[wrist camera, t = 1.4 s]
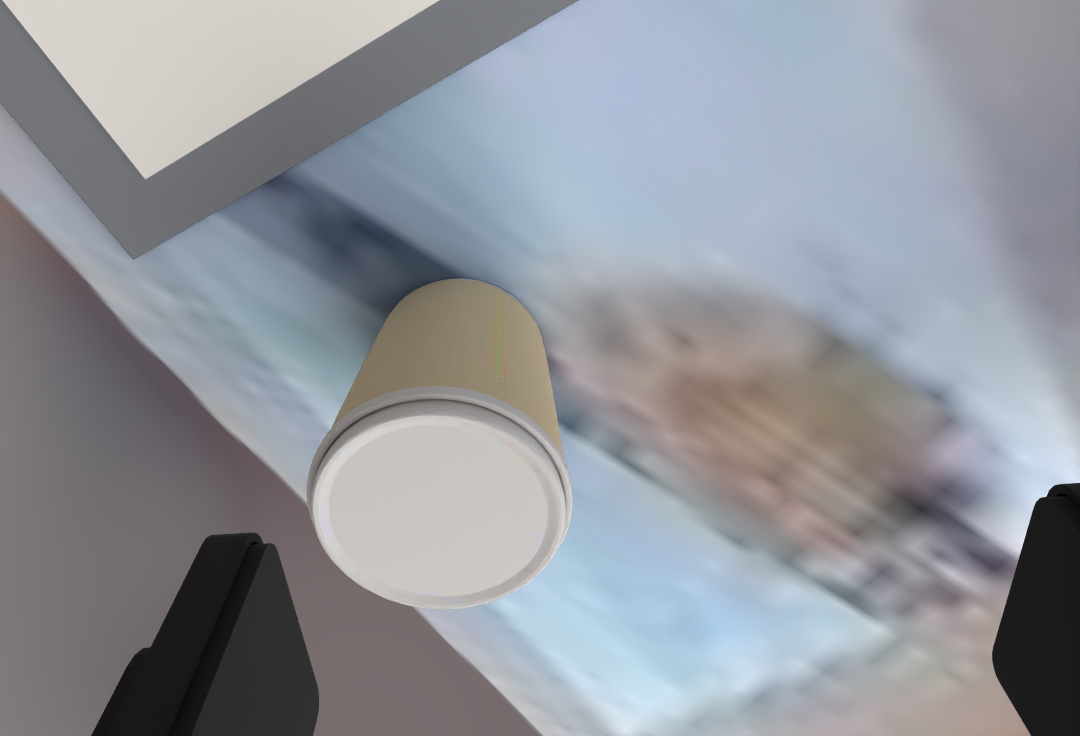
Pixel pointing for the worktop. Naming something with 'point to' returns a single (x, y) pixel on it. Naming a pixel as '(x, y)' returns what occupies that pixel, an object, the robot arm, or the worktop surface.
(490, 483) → the coffee cup
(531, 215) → the worktop surface
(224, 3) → the paper
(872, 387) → the worktop surface
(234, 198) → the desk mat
